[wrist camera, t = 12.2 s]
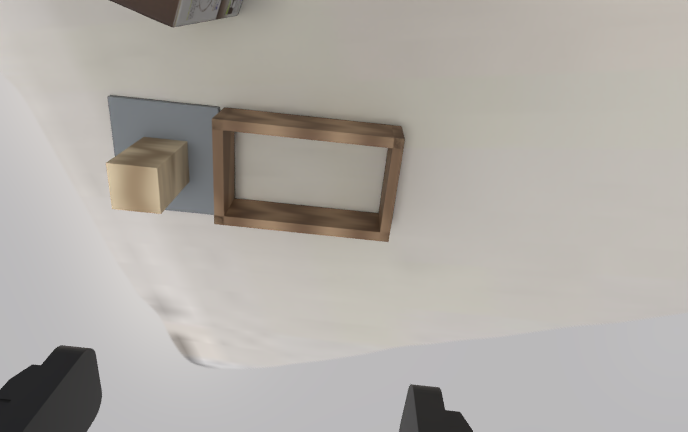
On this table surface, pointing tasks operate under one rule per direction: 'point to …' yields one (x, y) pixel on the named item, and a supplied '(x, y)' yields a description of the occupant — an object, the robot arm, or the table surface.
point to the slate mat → (174, 124)
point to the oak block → (148, 175)
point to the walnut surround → (298, 215)
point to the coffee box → (183, 10)
